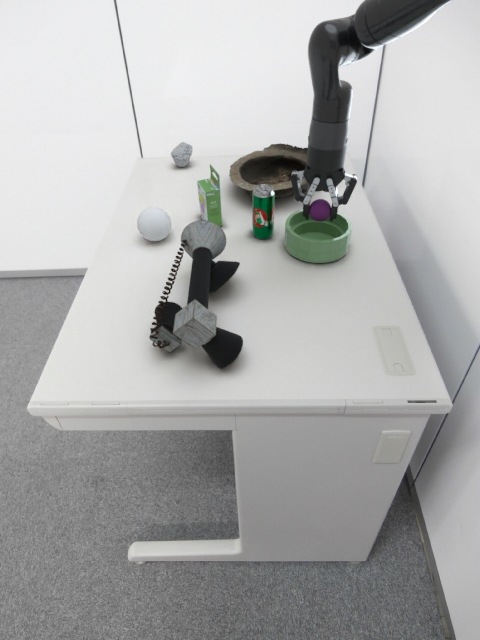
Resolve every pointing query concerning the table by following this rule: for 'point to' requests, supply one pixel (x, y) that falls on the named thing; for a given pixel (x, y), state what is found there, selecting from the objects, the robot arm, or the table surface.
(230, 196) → the table surface
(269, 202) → the soda can
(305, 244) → the green bowl
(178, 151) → the grey muffin
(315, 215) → the plum ball
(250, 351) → the table surface
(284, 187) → the stone bowl
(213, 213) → the ink box
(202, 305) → the telephone
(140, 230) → the ball
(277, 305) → the table surface
